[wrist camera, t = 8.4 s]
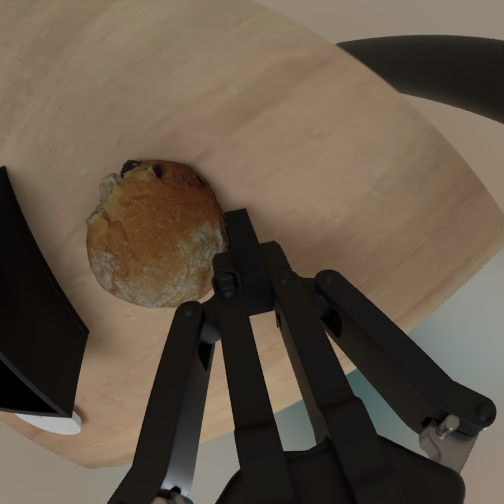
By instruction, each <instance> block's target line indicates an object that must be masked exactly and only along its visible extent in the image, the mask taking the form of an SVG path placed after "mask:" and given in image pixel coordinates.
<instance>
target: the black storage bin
mask: <svg viewBox="0 0 504 504" xmlns="http://www.w3.org/2000/svg"><path fill="white" fill-rule="evenodd" d="M88 335H89V330H88V329H87V327H86V326H85V324H84V323H83V321H82V320H81V319H80V317H79V316H78V314H77V313H76V311H75V310H74V308H73V307H72V305H71V303H70V302H69V300H68V299H67V297H66V295H65V294H64V292H63V291H62V289H61V287H60V286H59V284H58V282H57V281H56V279H55V277H54V275H53V274H52V272H51V270H50V268H49V266H48V265H47V263H46V261H45V259H44V257H43V255H42V253H41V251H40V250H39V248H38V246H37V244H36V242H35V240H34V237H33V235H32V233H31V231H30V229H29V227H28V225H27V223H26V220H25V218H24V216H23V214H22V211H21V209H20V206H19V204H18V202H17V199H16V197H15V194H14V192H13V189H12V186H11V184H10V181H9V178H8V175H7V172H6V169H5V166H2V167H1V168H0V411H3V412H10V413H17V414H25V415H34V416H44V417H58V418H72V414H73V408H74V401H75V395H76V390H77V384H78V379H79V374H80V369H81V364H82V360H83V355H84V351H85V347H86V342H87V338H88Z"/></svg>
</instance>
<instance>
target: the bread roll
mask: <svg viewBox="0 0 504 504" xmlns="http://www.w3.org/2000/svg"><path fill="white" fill-rule="evenodd" d="M99 187H100V191H101V194H102V195H101V198H100V201H101V203H100V204H99V205H98V206H97V208H96V210H95V211H94V212H93V213H92V214H91V216H90V217H89V218H88V219H87V220H86V223H87V227H88V232H87V239H86V244H87V252H88V258H89V263H90V267H91V269H92V272H93V273H94V275H95V277H96V279H97V280H98V282H99V284H100V285H101V286H102V287H103V288H104V289H105V290H106V291H107V292H109V293H111V294H112V295H114V296H116V297H118V298H120V299H122V300H125V301H127V302H129V303H132V304H136V305H139V306H145V307H148V308H164V307H178V306H180V305H181V304H182V303H184V302H186V301H191V300H193V301H197V300H199V299H201V298H202V297H204V296H205V295H206V294H207V293H208V292H209V291H210V290H211V289H212V288H213V285H212V282H211V280H212V277H213V276H214V271H213V262H212V259H213V257H214V255H215V254H217V253H222V252H227V251H231V244H230V239H229V234H228V230H227V227H226V225H225V218H224V215H223V212H222V209H221V207H220V205H219V203H218V202H217V199H216V196H215V194H214V192H213V191H212V189H211V188H210V185H209V183H208V182H207V181H206V179H205V178H204V177H202V176H201V175H199V174H197V173H195V172H193V171H192V170H191V169H190V168H189V167H187V166H185V165H183V164H180V163H176V162H167V161H161V160H148V161H145V162H142V161H140V162H138V161H134V160H128V161H127V162H126V163H124V166H123V168H122V171H121V176H119V175H117V174H115V173H111V174H110V175H109V176H106V177H104V178H103V179H102V181H101V183H100V186H99Z"/></svg>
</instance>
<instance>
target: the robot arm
mask: <svg viewBox="0 0 504 504" xmlns="http://www.w3.org/2000/svg"><path fill="white" fill-rule="evenodd" d="M224 215H225V220H226V224H227V229H228V234H229V239H230V244H231V249H232V250H231V251H227V252H222V253H217V254H215V255H214V257H213V259H212V262H213V271H214V276H213V277H212V280H211V282H212V285H213V289H214V292H215V294H214V295H213V297H212V298H210V299H209V300H207V301H206V302H204V303H202V304H201V303H199V302H198V301H193V300H191V301H186V302H184V303H182V304H181V305H180V306H178V308H177V310H176V312H175V315H174V318H173V321H172V324H171V327H170V330H169V334H168V337H167V340H166V343H165V346H164V350H163V353H162V356H161V359H160V363H159V366H158V370H157V373H156V376H155V380H154V383H153V387H152V390H151V394H150V398H149V401H148V405H147V409H146V412H145V416H144V420H143V424H142V428H141V431H140V435H139V439H138V443H137V448H136V452H135V456H134V460H133V465H132V467H131V469H130V470H129V472H128V473H127V475H126V476H125V477H124V479H123V480H122V482H121V483H120V485H119V486H118V488H117V489H116V491H115V492H114V494H113V495H112V497H111V498H110V500H109V501H108V503H107V504H194V503H193V502H192V501H191V500H190V499H189V498H188V497H187V496H188V494H189V491H190V488H191V485H192V481H193V477H194V471H195V464H196V458H197V451H198V445H199V438H200V432H201V426H202V420H203V413H204V407H205V401H206V395H207V389H208V383H209V378H210V372H211V366H212V360H213V354H214V349H215V342H216V341H218V340H220V339H221V343H222V350H223V357H224V363H225V370H226V376H227V383H228V389H229V395H230V401H231V407H232V413H233V419H234V425H235V430H234V436H235V443H236V448H237V454H238V459H239V464H240V469H239V470H238V471H237V472H236V473H235V474H234V475H233V476H232V478H231V479H230V480H229V482H228V483H227V485H226V487H225V488H224V490H223V492H222V493H221V495H220V497H219V498H218V500H217V501H216V503H215V504H464V499H465V484H464V481H463V479H462V477H461V476H460V472H461V470H462V469H463V467H464V464H465V462H466V461H467V458H468V456H469V454H470V452H471V450H472V448H473V446H474V443H475V441H476V439H477V437H478V435H479V434H480V433H481V432H482V431H483V430H485V429H486V428H487V427H488V426H490V425H491V424H492V423H493V422H494V420H495V418H496V406H495V404H494V403H493V401H492V400H490V399H489V398H487V397H485V396H483V395H481V394H479V393H477V392H475V391H473V390H471V389H469V388H467V387H465V386H463V385H461V384H459V383H457V382H455V381H453V380H452V379H451V378H450V377H449V376H448V375H447V374H446V373H445V372H444V371H443V370H442V369H441V368H440V367H439V366H438V365H437V364H436V363H435V362H434V361H433V360H432V359H431V358H430V357H429V356H428V355H427V354H426V353H425V352H424V351H423V350H422V349H421V348H420V347H419V346H417V345H416V343H415V342H413V341H412V340H411V339H410V338H409V337H408V336H407V335H406V334H405V333H404V332H403V331H402V330H401V329H400V328H399V327H398V326H397V325H396V324H395V323H394V322H392V321H391V320H390V319H389V318H388V317H387V316H386V315H385V314H384V313H383V312H382V311H381V310H380V309H378V308H377V307H376V306H375V305H374V304H373V303H372V302H371V301H370V300H369V299H368V298H367V297H365V296H364V295H363V294H362V293H361V292H360V291H359V290H358V289H357V288H355V287H354V286H353V285H352V284H351V283H350V282H349V281H348V280H347V279H345V278H344V277H343V276H342V275H341V274H340V273H338V272H337V271H334V270H322V271H320V272H319V273H317V275H316V276H315V278H303V277H299V276H298V275H297V274H296V273H295V272H293V271H292V269H291V267H290V265H289V263H288V261H287V259H286V256H285V254H284V252H283V250H282V248H281V246H280V245H279V244H278V243H277V242H275V241H271V242H266V243H261V244H259V242H258V239H257V237H256V234H255V231H254V229H253V226H252V224H251V221H250V218H249V216H248V213H247V211H246V208H244V209H239V210H234V211H229V212H224ZM273 306H274V307H273ZM274 309H275V314H276V323H277V328H278V327H279V329H280V332H281V335H282V338H283V341H284V343H285V346H286V349H287V352H288V355H289V358H290V361H291V364H292V367H293V370H294V373H295V376H296V379H297V382H298V385H299V388H300V391H301V394H302V397H303V400H304V403H305V406H306V409H307V412H308V415H309V418H310V421H311V424H312V427H313V430H314V434H315V440H316V444H317V445H316V446H315V447H313V448H311V449H309V450H306V451H283V448H282V444H281V441H280V436H279V433H278V429H277V425H276V422H275V419H274V415H273V411H272V407H271V403H270V399H269V395H268V391H267V388H266V384H265V380H264V376H263V372H262V368H261V364H260V360H259V356H258V352H257V348H256V343H255V339H254V335H253V331H252V327H251V323H250V319H249V316H252V315H257V314H261V313H265V312H270V311H274ZM325 331H326V332H327V333H328V335H329V336H330V337H331V338H332V339H333V340H334V342H335V343H336V344H337V345H338V346H339V347H340V349H341V350H342V351H343V352H344V353H345V354H346V356H347V357H348V358H349V359H350V360H351V361H352V362H353V364H354V365H355V366H356V367H357V368H358V369H359V370H360V372H361V373H362V374H363V375H364V376H365V378H366V379H367V380H368V381H369V382H370V383H371V385H372V386H373V387H374V388H375V389H376V390H377V392H378V393H379V394H380V395H381V396H382V397H383V399H384V400H385V401H386V402H387V403H388V404H389V406H390V407H391V408H392V409H393V410H394V411H395V413H396V414H397V415H398V416H399V417H400V418H401V420H403V422H404V423H405V424H406V425H407V426H408V427H410V428H411V429H412V430H413V431H415V432H416V433H417V434H419V444H420V448H421V449H422V450H425V452H426V453H427V454H428V456H429V459H428V458H426V457H424V456H422V455H419V454H417V453H415V452H413V451H411V450H409V449H407V448H405V447H403V446H401V445H399V444H397V443H394V442H393V441H391V440H389V439H387V438H385V437H383V436H380V435H377V433H376V430H375V428H374V426H373V424H372V421H371V419H370V417H369V414H368V412H367V410H366V408H365V405H364V404H363V402H362V400H361V399H360V398H359V397H356V396H355V395H354V394H353V391H352V389H351V387H350V385H349V383H348V380H347V378H346V376H345V374H344V371H343V369H342V367H341V365H340V363H339V360H338V358H337V356H336V354H335V352H334V350H333V347H332V345H331V343H330V341H329V339H328V337H327V335H326V332H325Z"/></svg>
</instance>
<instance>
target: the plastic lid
mask: <svg viewBox="0 0 504 504" xmlns="http://www.w3.org/2000/svg"><path fill="white" fill-rule="evenodd" d="M15 414H16V415H17V416H19V417H20V418H22V419H23V420H25V421H27V422H28V423H30V424H32V425H34V426H36V427H39V428H42V429H44V430H46V431H50V432H54V433H58V434H63V435H74V434H77V433H79V432H80V430H81V419H80V417H79V416H78V414H76V412H74V411H73V414H72V418H58V417H44V416H34V415H25V414H17V413H15Z"/></svg>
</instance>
